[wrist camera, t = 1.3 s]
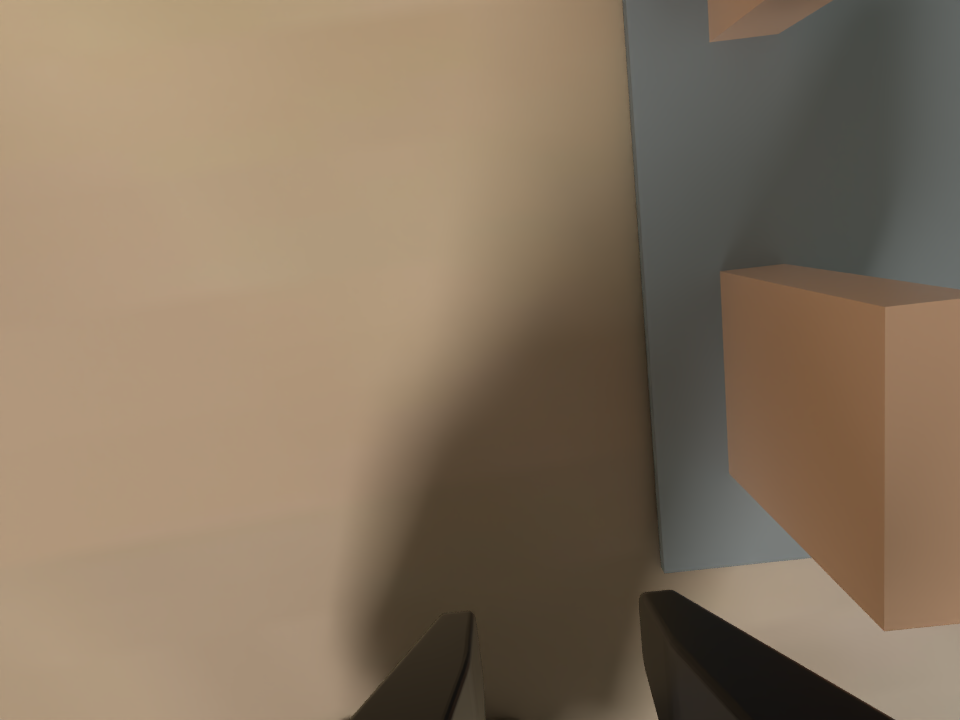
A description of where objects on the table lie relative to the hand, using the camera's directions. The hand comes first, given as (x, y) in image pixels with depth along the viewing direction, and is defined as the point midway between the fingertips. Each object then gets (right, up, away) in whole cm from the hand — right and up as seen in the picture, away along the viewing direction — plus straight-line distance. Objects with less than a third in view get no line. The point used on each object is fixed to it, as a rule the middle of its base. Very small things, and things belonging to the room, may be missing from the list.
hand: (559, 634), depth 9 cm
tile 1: (+7, +3, +11) cm, 14 cm away
